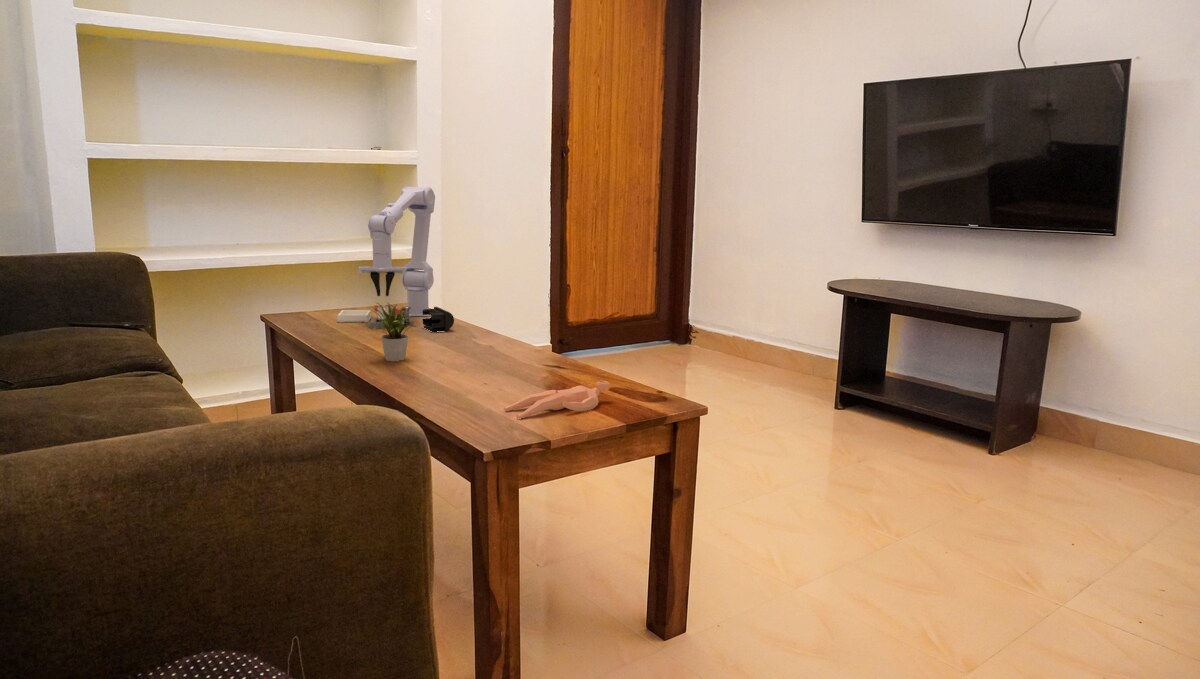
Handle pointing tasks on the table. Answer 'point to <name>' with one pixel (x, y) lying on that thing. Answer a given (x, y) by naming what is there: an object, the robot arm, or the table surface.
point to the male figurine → (560, 400)
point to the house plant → (394, 334)
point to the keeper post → (406, 315)
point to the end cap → (438, 319)
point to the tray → (354, 316)
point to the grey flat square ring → (375, 321)
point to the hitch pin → (382, 313)
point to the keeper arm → (393, 307)
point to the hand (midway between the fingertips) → (383, 295)
